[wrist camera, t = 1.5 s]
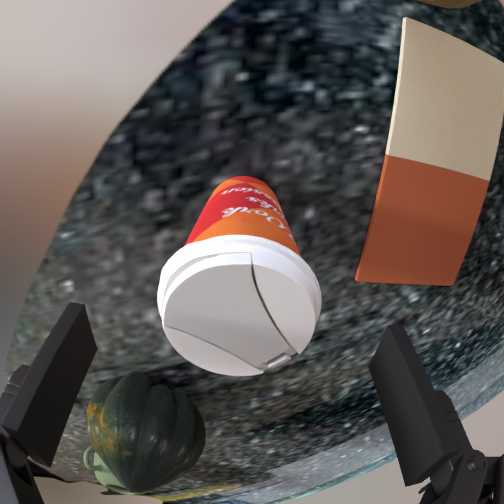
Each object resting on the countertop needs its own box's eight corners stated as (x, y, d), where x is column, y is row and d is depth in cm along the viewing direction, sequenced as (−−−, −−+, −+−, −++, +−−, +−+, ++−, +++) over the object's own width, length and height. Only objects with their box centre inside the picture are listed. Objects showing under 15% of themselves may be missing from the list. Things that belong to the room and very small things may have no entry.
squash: (167, 377, 28) (79, 481, 21) (245, 436, 35) (177, 519, 28) (119, 339, 39) (53, 416, 31) (185, 397, 46) (130, 463, 38)
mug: (172, 464, 51) (167, 501, 43) (130, 467, 54) (123, 499, 46) (112, 426, 44) (101, 468, 36) (74, 432, 47) (62, 467, 40)
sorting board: (402, 17, 18) (405, 16, 17) (505, 65, 18) (509, 66, 18) (354, 278, 29) (356, 281, 29) (450, 282, 30) (452, 286, 29)
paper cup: (309, 214, 26) (356, 334, 14) (238, 265, 28) (231, 399, 16) (249, 141, 23) (247, 207, 11) (176, 202, 25) (115, 313, 13)
